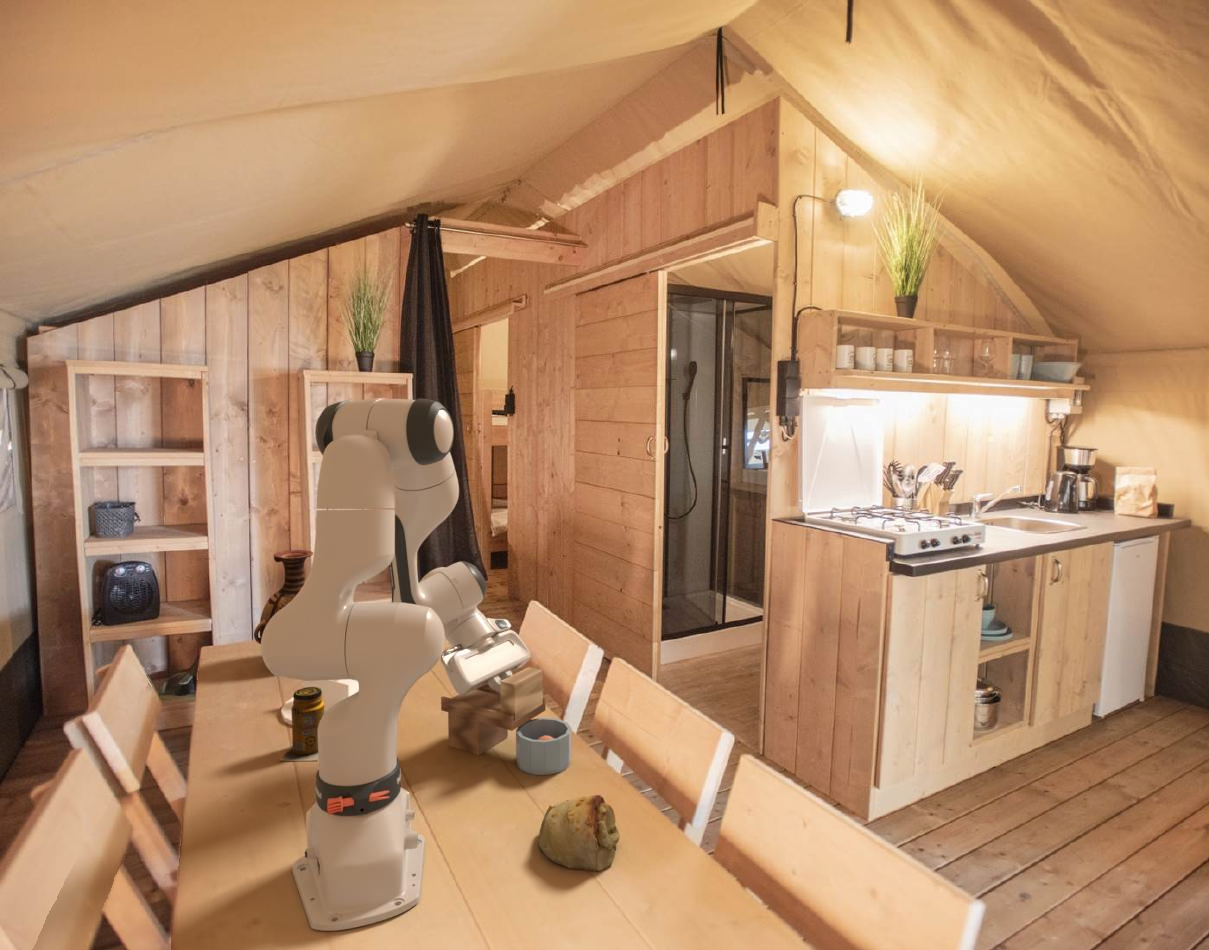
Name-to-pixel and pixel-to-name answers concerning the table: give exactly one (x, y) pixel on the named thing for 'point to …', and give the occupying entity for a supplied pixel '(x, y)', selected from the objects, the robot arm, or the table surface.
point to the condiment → (305, 724)
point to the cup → (543, 746)
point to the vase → (284, 586)
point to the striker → (522, 692)
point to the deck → (480, 719)
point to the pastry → (580, 833)
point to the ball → (545, 738)
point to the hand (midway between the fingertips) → (511, 695)
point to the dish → (324, 694)
